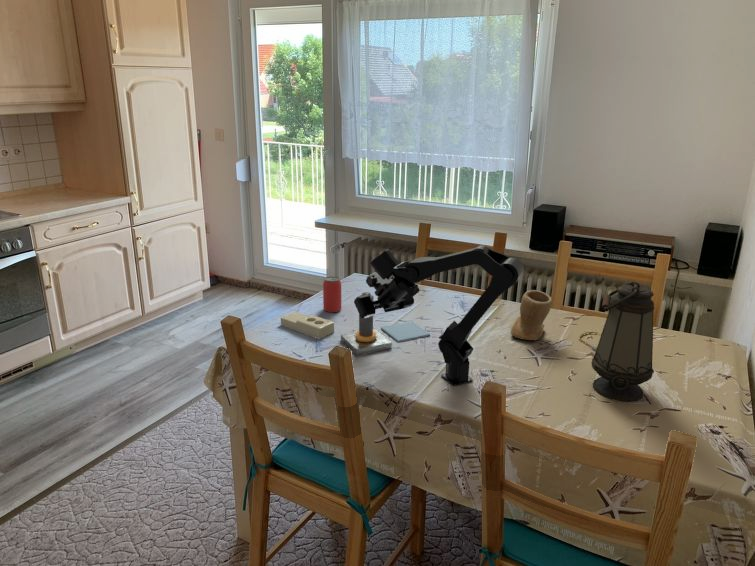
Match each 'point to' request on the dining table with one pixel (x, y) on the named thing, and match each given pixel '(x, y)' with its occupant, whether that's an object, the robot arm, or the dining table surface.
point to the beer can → (332, 294)
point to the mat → (405, 331)
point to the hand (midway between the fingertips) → (372, 313)
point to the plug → (366, 327)
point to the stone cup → (532, 315)
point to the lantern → (625, 344)
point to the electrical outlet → (308, 324)
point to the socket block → (367, 347)
